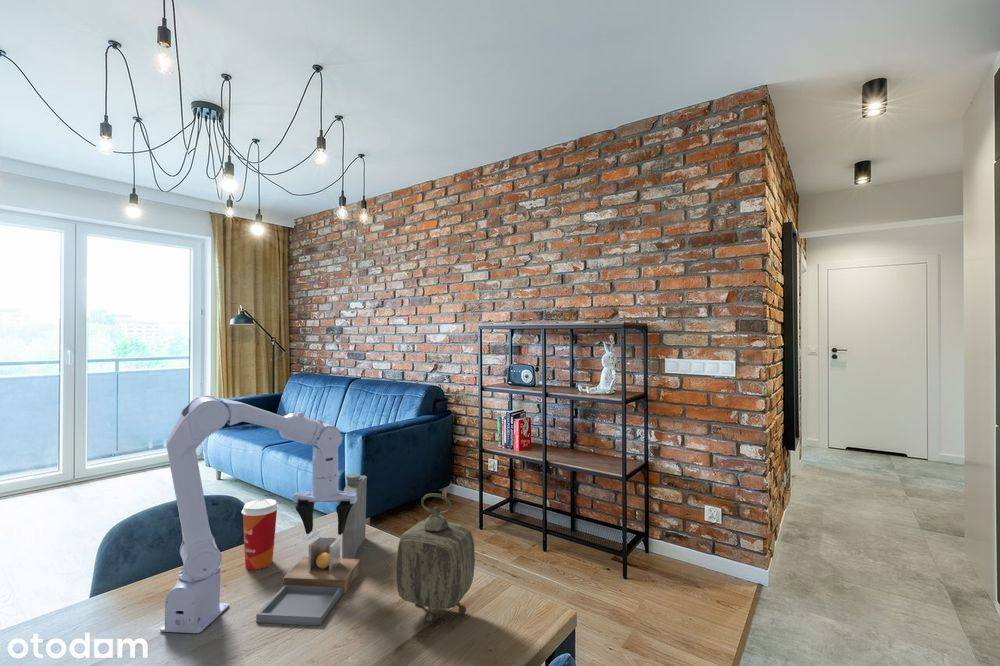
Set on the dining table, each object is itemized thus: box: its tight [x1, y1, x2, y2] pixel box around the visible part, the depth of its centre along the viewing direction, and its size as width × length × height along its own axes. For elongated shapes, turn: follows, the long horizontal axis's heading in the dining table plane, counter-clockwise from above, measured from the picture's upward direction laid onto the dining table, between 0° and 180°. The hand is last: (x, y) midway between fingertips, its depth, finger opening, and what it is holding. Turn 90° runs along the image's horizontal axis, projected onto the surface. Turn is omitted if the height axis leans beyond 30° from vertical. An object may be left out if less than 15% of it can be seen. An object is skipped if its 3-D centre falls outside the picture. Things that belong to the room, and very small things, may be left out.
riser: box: [282, 556, 361, 595], centre depth 110 cm, size 10×14×3 cm
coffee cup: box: [241, 498, 279, 571], centre depth 117 cm, size 8×8×15 cm
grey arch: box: [308, 536, 341, 573], centre depth 111 cm, size 5×5×6 cm
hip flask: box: [341, 473, 368, 559], centre depth 127 cm, size 16×4×20 cm, turn 4°
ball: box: [316, 552, 330, 569], centre depth 110 cm, size 3×3×3 cm
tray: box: [255, 585, 343, 626], centre depth 99 cm, size 11×13×2 cm
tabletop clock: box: [395, 492, 476, 623], centre depth 97 cm, size 14×9×25 cm, turn 70°
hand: (325, 532), depth 111 cm, fingers open, 7 cm apart
